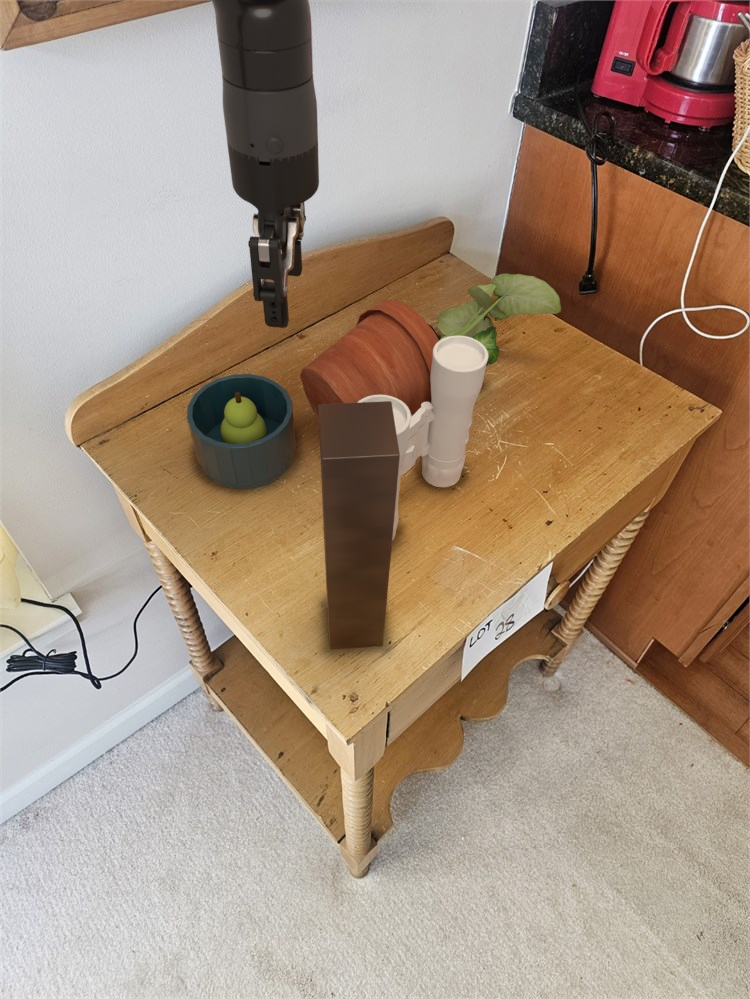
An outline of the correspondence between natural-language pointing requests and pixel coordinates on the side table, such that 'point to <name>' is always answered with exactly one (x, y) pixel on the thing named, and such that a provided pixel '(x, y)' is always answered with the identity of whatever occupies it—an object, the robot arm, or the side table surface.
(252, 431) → the pear
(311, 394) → the potted plant
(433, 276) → the side table surface
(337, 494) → the pedestal
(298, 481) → the side table surface
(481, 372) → the binoculars
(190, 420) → the teal bowl
